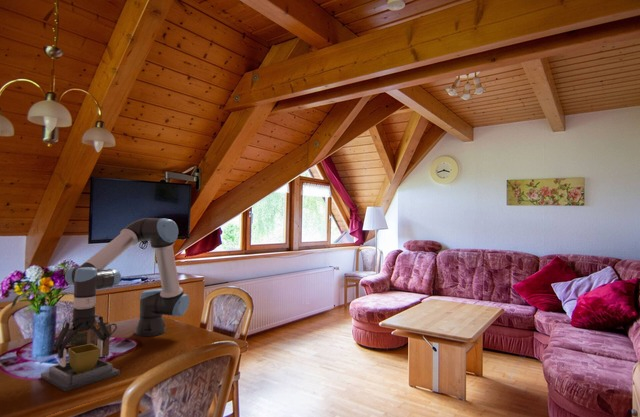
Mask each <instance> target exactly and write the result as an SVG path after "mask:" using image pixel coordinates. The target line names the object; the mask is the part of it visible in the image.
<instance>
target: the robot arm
mask: <svg viewBox="0 0 640 417" xmlns="http://www.w3.org/2000/svg"><path fill="white" fill-rule="evenodd" d="M119 233H120V234H118V235H117V236H115V238H113V239H112V240H110V242H109V243H107V244H105V245H104V246H103V247H102V248H101V249H99V250H98V251H97V252H96V253H95V254H94V255H92V256H91V257H90V258H88V259H87V260H86V261H84V262H83V263H82V264H81V265H79V266H74V267H73V266H72V267H70V268H68V269H67V271H66V272H65V275H64V280H65V282H66V283H67V284H69V285H73V304H72V306H73V308H72V321H70V322H69V321H64V322H63V323H62V328H61V330H60V331H59V334H58V336H57V337H56V339H55V341H54V343H53V345H52V348H53V349H54V350H57V358H58V359H60V361H59V362H60V363H59V364H60V366H62V367H66V362H67V349H66V347H67V346H68V344H69V342H70V341H71V339H72V338H73V337H74V336H75V334H77V333H78V332H82V331H84V330H86V331H87V330H89V329H91V330H92V331H93V332H94V333H95V334H96V335H97V336H98V337H99V338H100V339H99V340H98V341H97V347H98V348H99V349H100V351H99V357H98V358H100V357H102V348H103V347H104V346H105V340H106V339H107V337H110V338H111V336H110V334H109V332H108V330H107V328H106V326H105V324H104V323H105V322H104V317H103V316H100V315H97V317H94V316H95V314H96V307H95V306H96V299H97V298H96V297H97V291H98V290H102V289H108V288H112V287H115V286H118V285H119V284H120V283H121V280H122V274H121V273H120V271H119V270H118V269H116V268H107V267H108V266H109V265H110V264H112V263H113V262H114V261H115V260H116V259H117V258H118V257H120V256H121V255H122V254H124V253H125V251H126V250H128V249H129V248H130V247H131V246H135V245H137V244H138V243H139V242H140V243H141V242H143V241H144V242H145V241H146V242H150V248H152V249H154V251H155V257H156V262H157V268H158V274H159V279H160V284H161V288H153V289H147V290H144V291H142V292H141V293H140V298H139V320H138V322H137V325H136V327H135V330H134V332H135V333H134V334H135V335H136V336H141V337H152V336H153V337H155V336H159V335H162V334H164V333H165V332H166V325H165V321H164V318H163V316H164V315H165V316H172V317H181V316H183V315H185V313H186V312H187V311H188V308H189V306H190V297H189V295H188V294H186V293H184V288H183V287H181V286H180V281H179V277H178V276H179V275H178V270H177V264H176V259H175V253H174V245H175V243H176V241H177V240H178V237H179V236H178V235H179V227H178V225H177V223H176V222H175V221H174V220H173V219H169V218H157V217H156V218H154V217H152V218H150V217H143V218H139V219H138V220H135V221H133V222H131V223H130V224H128V225H127V226H126V227H124V228H122V230H120V232H119ZM106 268H107V269H106ZM95 321H96V322H97V325H99V327H100V329H101V331H102V333H103V334H104V335H102V334H101V333H100V332H99V331H98V330H97V329H96V327H95V326H94V325H93V324H94V322H95ZM71 327H72V329H71V330H70V333H69V334H68V335H67V336H66V334H67V332H68V330H69V329H70V328H71ZM65 336H66V337H65Z"/></svg>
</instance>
